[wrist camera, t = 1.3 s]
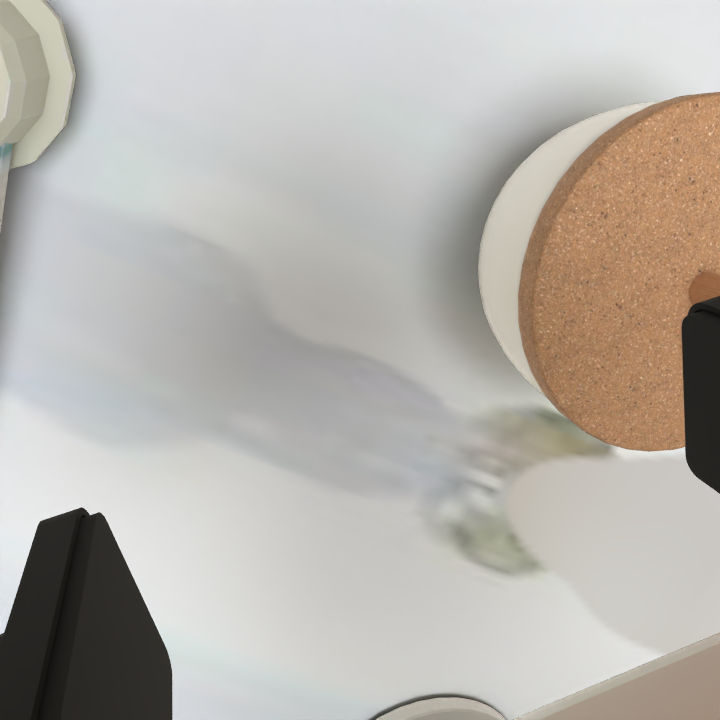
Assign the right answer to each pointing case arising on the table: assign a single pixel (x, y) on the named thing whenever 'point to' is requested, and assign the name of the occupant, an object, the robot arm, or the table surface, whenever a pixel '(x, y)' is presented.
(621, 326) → the lidded bowl
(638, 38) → the table surface
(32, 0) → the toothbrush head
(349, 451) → the table surface
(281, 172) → the table surface
